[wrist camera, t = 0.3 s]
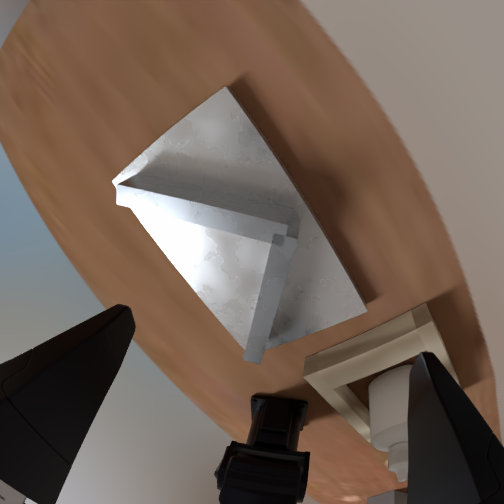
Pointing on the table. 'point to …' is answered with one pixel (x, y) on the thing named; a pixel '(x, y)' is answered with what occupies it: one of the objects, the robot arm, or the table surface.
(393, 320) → the beige square frame
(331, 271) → the silver tray
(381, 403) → the eye dropper bottle
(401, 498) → the perfume bottle
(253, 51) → the table surface
